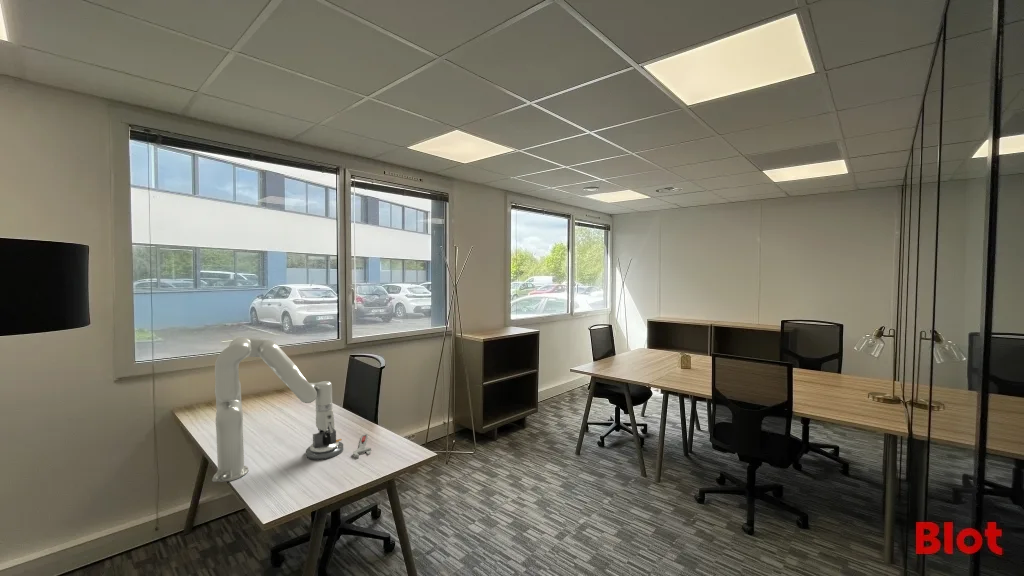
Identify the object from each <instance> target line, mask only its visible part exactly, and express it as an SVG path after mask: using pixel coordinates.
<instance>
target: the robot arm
mask: <svg viewBox="0 0 1024 576" xmlns="http://www.w3.org/2000/svg"><path fill="white" fill-rule="evenodd" d="M248 357H253V358H260V359H261V360H262V361H263V362H264V363H265V364H266V365H267V366H268V367H269V368H270V370H271V371H272V372H273V373H274V374H275V375H276V376H277V377H278V379H280V381H282V382H283V384H284V385H286V386H287V388H289V391H291V392H292V393H293V394H294V395H295V396H296V398H298V400H299V401H301V403H303V404H311V403H313V402H315V412H316V413H315V427H316V428H317V431H318V433H320V432H324V445H327V444H330V443H331V434H332V433H333V430H332V429H335V414H334V411H333V385H332V382H331V381H328V380H325V381H323V380H322V381H318V382H309V381H308V380H307V379H306V377H304V375H303V374H302V373H301V371H300V369H299V368H298V366H297V365H296V364H295V363H294V361H293V360H292V359H291V358H290V357H289V356H288V355H287V354H286V353H285V351H284V350H283V349H282V348H281V347H280V346H279V345H278V343H277V342H276V341H274V340H269V339H260V338H259V339H258V338H250V337H236V338H234V339H232V341H230V342H229V345H228V346H227V347H226V348H224V349H223V350H222V351H221V352H220V353H219V354H218V356H217V357H216V360H215V363H214V382H215V383H214V385H215V386H214V395H215V406H216V412H215V433H216V437H215V438H216V454H217V456H216V457H217V458H216V459H217V470H216V473H215V474H214V475H213V477H212V479H211V481H212V482H217V483H224V482H225V483H226V482H231V481H234V480H237V479H239V478H242V477H243V476H245V475H247V474H248V472H249V467H248V466H247V465H245V453H244V452H245V450H244V425H243V423H244V421H243V420H244V414H243V413H244V412H243V402H242V387H241V386H242V383H241V381H240V367H239V365H240V363H241V362H242V361H244V360H245V359H247V358H248ZM326 432H328V433H327V434H326Z"/></svg>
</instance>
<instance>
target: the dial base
mask: <svg viewBox="0 0 1024 576" xmlns="http://www.w3.org/2000/svg"><path fill="white" fill-rule="evenodd" d="M343 451H344V443H343V442H341V441H339V446H338V448H336V449H335V450H333V451H330V452H326V453H312V452H311V451H310V446H308V447H307V448H306V449H305V457H306V458H307V460H310V461H324V460H325V461H326V460H328V459H332V458H335V457H337V456H339V455H340V454H342V453H343Z"/></svg>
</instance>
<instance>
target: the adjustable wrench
mask: <svg viewBox="0 0 1024 576" xmlns="http://www.w3.org/2000/svg"><path fill="white" fill-rule="evenodd" d="M367 441H368V434H367V433H366V434H363V435H361V436H360V441H359V443H358V448H357V449H356V450H353V452H352V457H353V456H354V458H355V457H357V458H356V459H359V458H360V455H363V454H367V455H368V456H369V455H370V454H371V453H372V447H370V446H369V447H366V445H367V444H366V443H367ZM365 452H366V453H365ZM362 453H363V454H362ZM359 454H360V455H359Z"/></svg>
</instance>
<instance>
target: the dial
mask: <svg viewBox="0 0 1024 576" xmlns="http://www.w3.org/2000/svg"><path fill="white" fill-rule="evenodd" d="M332 430H333V433H332V434H331V443H330V444H327V445H324V432H320V433H319V432H317V433H312V444H310V446H309V447H310V451H311V452H312V453H326V452H330V451H333V450H335V449H336V448H338V446H339V442H341V441H342V438H339V439H337V430H335V428H334V429H332ZM327 433H328V432H326V434H327Z"/></svg>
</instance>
